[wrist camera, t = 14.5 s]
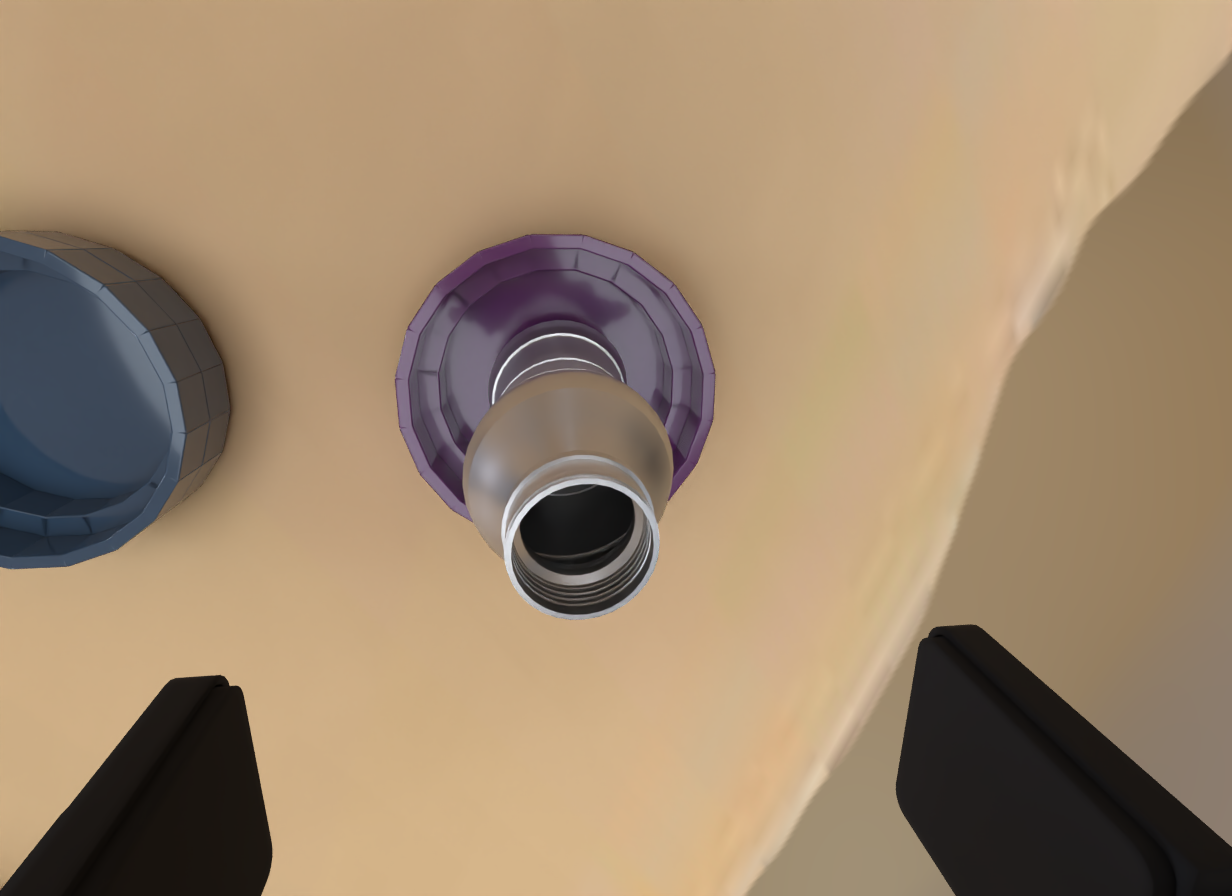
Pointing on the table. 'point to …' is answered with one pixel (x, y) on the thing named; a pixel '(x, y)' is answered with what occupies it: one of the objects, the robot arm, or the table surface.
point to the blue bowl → (97, 399)
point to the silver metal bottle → (568, 472)
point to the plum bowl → (531, 294)
